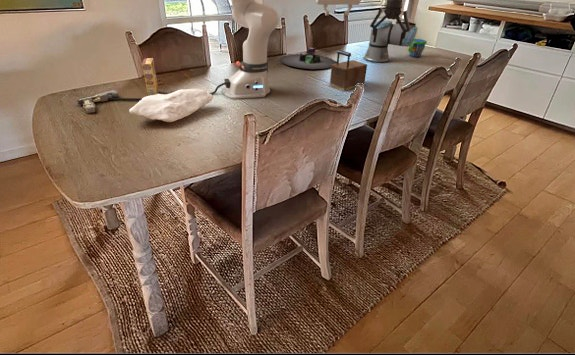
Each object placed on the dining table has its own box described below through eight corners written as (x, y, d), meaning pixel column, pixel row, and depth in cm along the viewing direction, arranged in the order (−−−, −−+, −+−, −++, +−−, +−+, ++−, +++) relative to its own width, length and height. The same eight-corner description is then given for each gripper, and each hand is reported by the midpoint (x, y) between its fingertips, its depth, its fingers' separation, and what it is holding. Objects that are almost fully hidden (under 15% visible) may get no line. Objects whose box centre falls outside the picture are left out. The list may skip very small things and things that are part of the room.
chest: (343, 91, 181) (346, 71, 176) (329, 85, 187) (331, 66, 182) (364, 85, 189) (367, 66, 184) (350, 80, 196) (352, 61, 191)
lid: (344, 71, 175) (346, 54, 171) (330, 66, 182) (332, 50, 177) (367, 66, 184) (369, 50, 180) (352, 61, 190) (354, 46, 186)
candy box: (157, 97, 164) (152, 63, 155) (147, 98, 163) (141, 63, 155) (158, 91, 171) (153, 57, 163) (149, 91, 170) (143, 58, 162)
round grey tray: (348, 64, 220) (349, 48, 215) (302, 72, 202) (302, 55, 198) (313, 55, 244) (313, 41, 240) (269, 61, 227) (268, 46, 222)
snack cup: (416, 52, 253) (419, 37, 248) (428, 56, 246) (432, 40, 240) (401, 55, 246) (404, 39, 240) (413, 59, 238) (416, 43, 233)
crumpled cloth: (117, 110, 146) (113, 90, 140) (195, 92, 166) (194, 73, 160) (143, 139, 134) (140, 118, 128) (223, 116, 154) (224, 96, 148)
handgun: (128, 97, 156) (111, 87, 164) (86, 107, 144) (70, 97, 152) (129, 103, 157) (113, 94, 165) (88, 114, 146) (72, 103, 154)
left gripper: (318, -19, 157) (316, 16, 164) (364, -18, 160) (359, 16, 167) (315, -20, 162) (313, 14, 169) (359, -19, 165) (355, 14, 172)
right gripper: (368, -3, 180) (362, 41, 192) (419, 1, 172) (410, 48, 183) (372, -5, 186) (365, 39, 198) (422, 0, 177) (412, 45, 189)
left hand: (336, 15), depth 168 cm, fingers open, 8 cm apart
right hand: (387, 43), depth 190 cm, fingers open, 13 cm apart
